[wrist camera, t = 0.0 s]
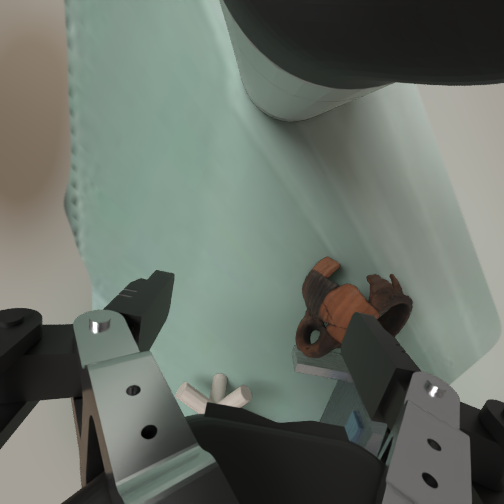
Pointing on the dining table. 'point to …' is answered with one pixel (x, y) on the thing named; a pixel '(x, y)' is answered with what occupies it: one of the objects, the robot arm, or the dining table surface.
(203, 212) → the dining table surface
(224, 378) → the pipe connector
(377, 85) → the robot arm
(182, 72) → the dining table surface
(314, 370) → the grey boxy knob-topped device
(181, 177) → the dining table surface
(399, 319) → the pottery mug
